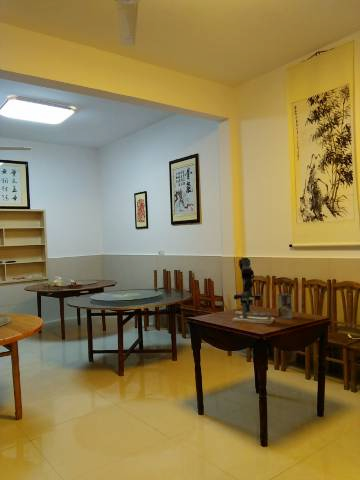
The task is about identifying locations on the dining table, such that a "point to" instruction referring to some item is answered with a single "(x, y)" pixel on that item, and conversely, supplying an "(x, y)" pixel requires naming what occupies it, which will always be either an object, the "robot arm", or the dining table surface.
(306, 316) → the dining table surface
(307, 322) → the dining table surface
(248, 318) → the pipe stand
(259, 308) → the dining table surface
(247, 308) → the robot arm
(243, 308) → the dark angular block
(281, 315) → the coffee box
